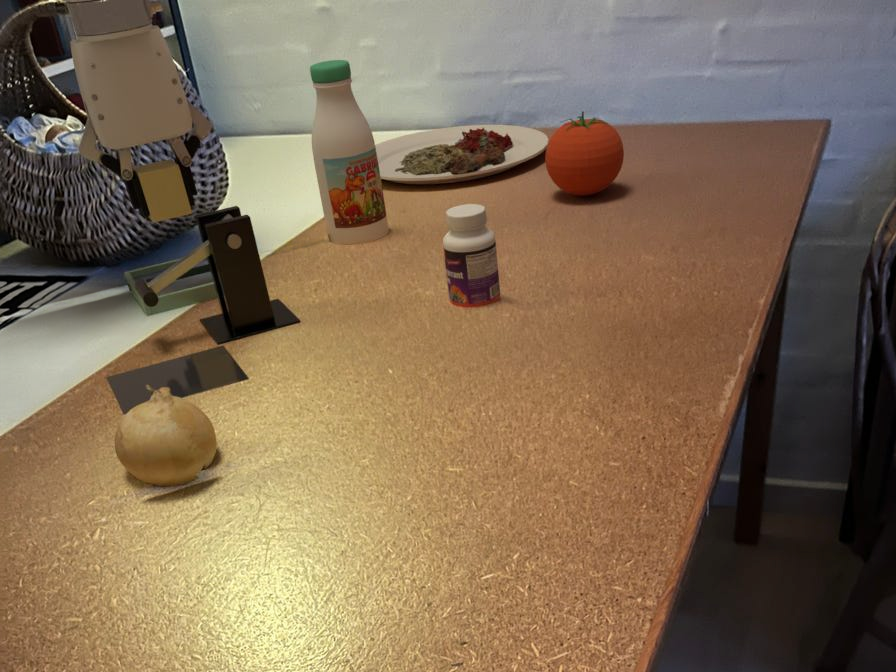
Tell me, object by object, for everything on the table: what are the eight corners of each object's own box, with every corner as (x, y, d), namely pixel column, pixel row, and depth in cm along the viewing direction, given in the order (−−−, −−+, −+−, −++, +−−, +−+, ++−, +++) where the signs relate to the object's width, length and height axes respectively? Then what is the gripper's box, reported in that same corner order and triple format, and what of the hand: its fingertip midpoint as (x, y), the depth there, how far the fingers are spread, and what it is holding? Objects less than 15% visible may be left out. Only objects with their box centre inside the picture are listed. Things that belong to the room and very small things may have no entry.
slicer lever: (153, 314, 97) (137, 293, 95) (143, 299, 101) (128, 279, 99) (251, 242, 97) (237, 221, 96) (238, 231, 101) (225, 210, 99)
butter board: (126, 424, 90) (123, 414, 89) (109, 386, 97) (105, 376, 96) (252, 388, 93) (249, 378, 92) (226, 354, 100) (223, 344, 100)
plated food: (319, 191, 146) (315, 166, 143) (407, 138, 166) (404, 116, 164) (506, 193, 135) (504, 166, 133) (575, 136, 156) (574, 112, 153)
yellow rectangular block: (153, 222, 108) (138, 174, 104) (146, 214, 110) (131, 167, 107) (192, 213, 109) (178, 165, 106) (184, 205, 112) (171, 158, 108)
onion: (239, 475, 80) (215, 395, 75) (145, 510, 77) (115, 429, 73) (205, 441, 85) (181, 364, 81) (117, 472, 83) (87, 395, 78)
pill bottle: (443, 304, 105) (430, 209, 99) (488, 292, 106) (479, 198, 100) (462, 319, 101) (450, 222, 95) (509, 307, 102) (501, 210, 96)
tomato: (612, 206, 125) (610, 120, 119) (536, 206, 129) (531, 122, 122) (633, 183, 132) (632, 100, 126) (561, 183, 136) (557, 103, 130)
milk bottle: (319, 251, 123) (283, 71, 111) (347, 231, 129) (316, 57, 116) (373, 252, 121) (342, 68, 108) (399, 232, 126) (373, 54, 113)
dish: (149, 324, 109) (142, 301, 108) (130, 293, 118) (123, 272, 116) (254, 297, 113) (248, 274, 111) (227, 269, 122) (222, 248, 120)
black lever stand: (220, 353, 101) (186, 235, 93) (202, 330, 106) (169, 217, 99) (302, 331, 103) (276, 214, 96) (280, 309, 109) (254, 197, 101)
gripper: (185, 1, 103) (231, 185, 114) (21, 30, 98) (87, 219, 110) (201, 5, 97) (248, 198, 109) (28, 37, 93) (97, 235, 104)
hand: (167, 207), depth 109 cm, fingers closed on yellow rectangular block, 4 cm apart
